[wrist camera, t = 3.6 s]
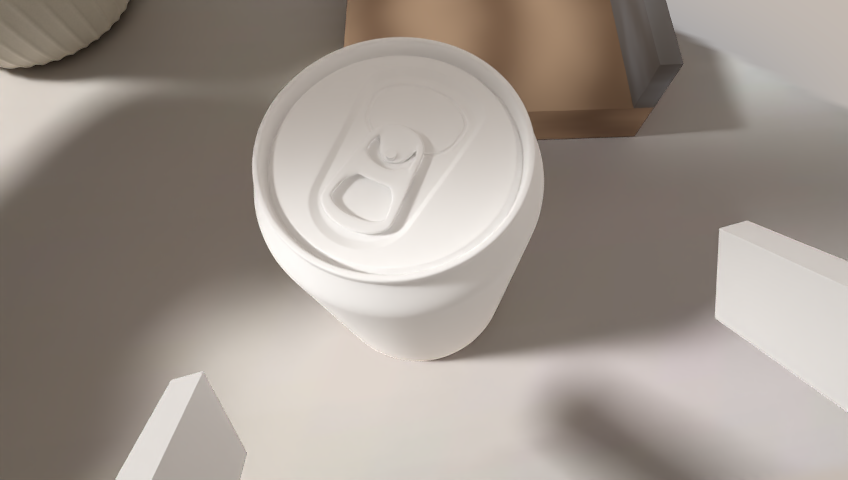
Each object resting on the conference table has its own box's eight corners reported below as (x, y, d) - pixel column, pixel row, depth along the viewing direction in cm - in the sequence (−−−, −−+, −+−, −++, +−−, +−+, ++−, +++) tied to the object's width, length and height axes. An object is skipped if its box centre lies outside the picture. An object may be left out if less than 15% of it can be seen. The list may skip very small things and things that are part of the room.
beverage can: (525, 245, 23) (603, 82, 12) (456, 394, 20) (470, 370, 9) (387, 184, 24) (338, -11, 13) (307, 315, 22) (165, 212, 11)
